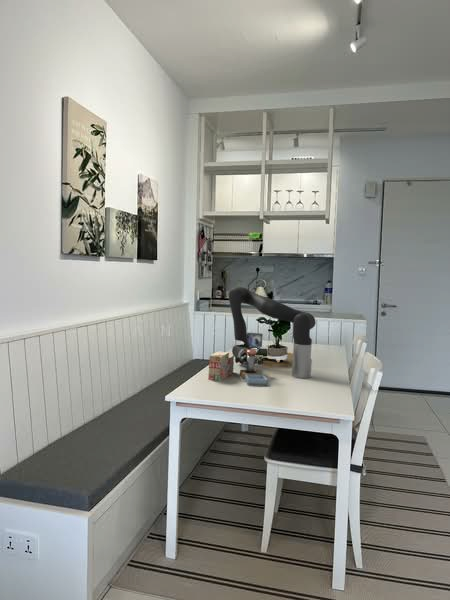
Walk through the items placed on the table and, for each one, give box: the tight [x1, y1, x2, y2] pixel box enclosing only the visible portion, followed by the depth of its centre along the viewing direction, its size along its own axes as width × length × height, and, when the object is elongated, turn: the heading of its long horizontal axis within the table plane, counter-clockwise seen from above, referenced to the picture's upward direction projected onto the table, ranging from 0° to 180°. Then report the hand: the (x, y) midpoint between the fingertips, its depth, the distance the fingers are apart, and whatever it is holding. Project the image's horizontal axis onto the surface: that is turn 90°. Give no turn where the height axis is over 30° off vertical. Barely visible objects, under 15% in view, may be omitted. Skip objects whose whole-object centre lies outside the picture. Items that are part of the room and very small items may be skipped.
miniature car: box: [256, 345, 269, 356], centre depth 288 cm, size 9×18×8 cm, turn 69°
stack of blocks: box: [207, 350, 235, 382], centre depth 241 cm, size 21×6×12 cm, turn 162°
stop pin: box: [245, 349, 257, 373], centre depth 240 cm, size 5×5×14 cm
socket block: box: [239, 369, 262, 381], centre depth 240 cm, size 9×9×3 cm
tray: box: [244, 374, 268, 387], centre depth 230 cm, size 9×9×3 cm
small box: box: [247, 332, 263, 349], centre depth 324 cm, size 11×6×10 cm, turn 81°
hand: (251, 362), depth 238 cm, fingers open, 8 cm apart
